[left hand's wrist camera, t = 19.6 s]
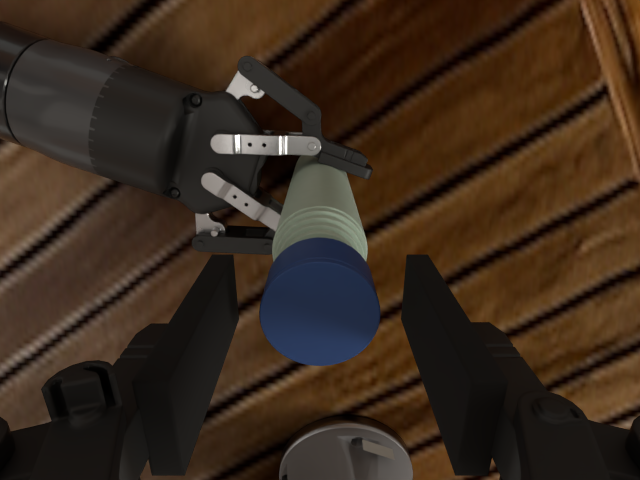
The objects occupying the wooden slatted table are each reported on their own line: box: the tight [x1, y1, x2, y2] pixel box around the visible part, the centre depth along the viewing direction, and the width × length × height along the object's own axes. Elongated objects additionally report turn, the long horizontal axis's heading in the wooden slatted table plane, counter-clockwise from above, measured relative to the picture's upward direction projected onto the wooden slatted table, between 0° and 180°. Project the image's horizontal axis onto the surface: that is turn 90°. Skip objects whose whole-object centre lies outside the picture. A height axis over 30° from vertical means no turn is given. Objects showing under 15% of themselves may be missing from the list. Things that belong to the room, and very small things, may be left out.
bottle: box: [272, 155, 367, 261], centre depth 24 cm, size 4×4×22 cm
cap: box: [259, 237, 380, 366], centre depth 14 cm, size 4×4×2 cm
